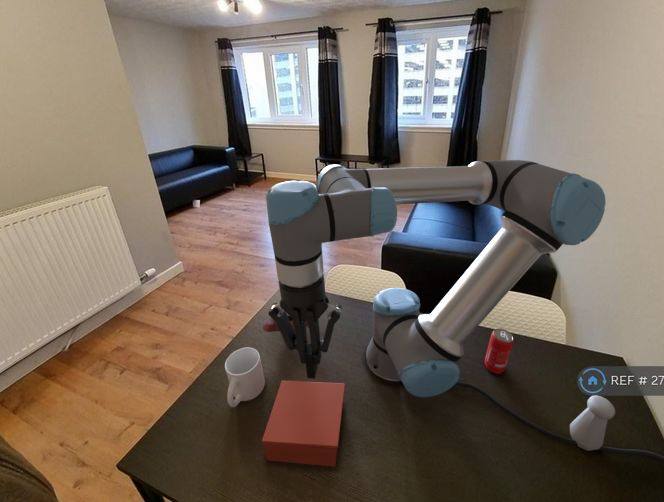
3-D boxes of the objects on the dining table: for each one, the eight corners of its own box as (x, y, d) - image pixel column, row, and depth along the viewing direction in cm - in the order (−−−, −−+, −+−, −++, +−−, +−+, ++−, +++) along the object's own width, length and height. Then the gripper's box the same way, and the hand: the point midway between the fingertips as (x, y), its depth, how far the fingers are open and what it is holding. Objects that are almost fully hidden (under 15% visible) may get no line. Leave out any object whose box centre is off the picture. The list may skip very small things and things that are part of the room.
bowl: (281, 309, 106) (279, 291, 103) (317, 313, 104) (315, 294, 101) (263, 345, 92) (259, 326, 88) (304, 350, 90) (302, 330, 87)
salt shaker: (599, 461, 63) (623, 423, 57) (567, 445, 66) (586, 408, 60) (597, 435, 68) (619, 398, 62) (566, 422, 70) (584, 385, 64)
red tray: (342, 405, 75) (341, 387, 72) (335, 468, 63) (334, 450, 60) (285, 400, 76) (282, 382, 73) (267, 462, 64) (262, 443, 61)
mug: (248, 421, 72) (241, 392, 67) (217, 414, 73) (208, 386, 69) (270, 376, 82) (265, 349, 78) (243, 371, 84) (236, 345, 79)
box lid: (345, 385, 71) (345, 383, 71) (337, 448, 59) (337, 446, 59) (282, 382, 73) (281, 380, 73) (262, 443, 61) (261, 441, 61)
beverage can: (483, 371, 83) (492, 339, 77) (484, 356, 87) (492, 325, 82) (504, 377, 81) (514, 345, 76) (503, 362, 85) (513, 330, 80)
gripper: (342, 263, 53) (346, 358, 63) (270, 261, 54) (286, 355, 64) (337, 291, 46) (342, 392, 56) (254, 288, 47) (275, 387, 58)
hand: (312, 372), depth 60 cm, fingers closed
